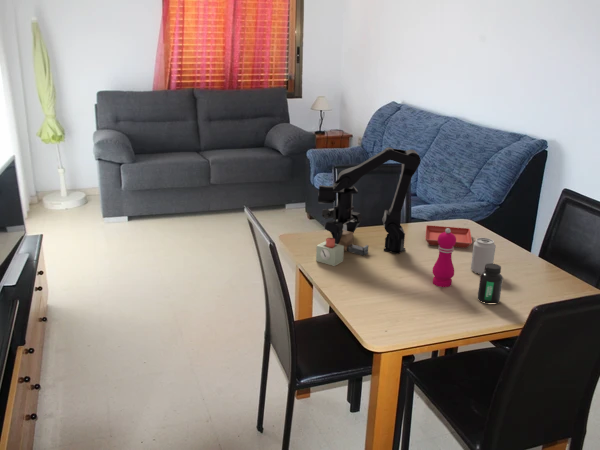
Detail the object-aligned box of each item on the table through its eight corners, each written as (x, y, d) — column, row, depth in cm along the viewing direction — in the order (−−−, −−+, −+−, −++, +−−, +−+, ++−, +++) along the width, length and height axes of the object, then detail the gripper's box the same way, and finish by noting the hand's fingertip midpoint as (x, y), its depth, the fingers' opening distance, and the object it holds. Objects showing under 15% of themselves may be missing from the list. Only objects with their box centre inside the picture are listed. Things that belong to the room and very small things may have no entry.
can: (493, 269, 216) (497, 238, 212) (490, 277, 209) (494, 245, 205) (472, 265, 219) (476, 235, 215) (468, 273, 212) (472, 241, 208)
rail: (367, 253, 228) (368, 245, 227) (364, 255, 225) (364, 247, 224) (334, 244, 236) (335, 237, 235) (330, 246, 233) (330, 239, 232)
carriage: (352, 247, 232) (353, 232, 230) (345, 251, 228) (346, 235, 226) (339, 244, 236) (340, 229, 233) (332, 247, 232) (333, 232, 230)
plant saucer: (424, 246, 237) (425, 238, 236) (425, 231, 254) (426, 224, 253) (471, 251, 234) (472, 243, 233) (469, 235, 250) (470, 228, 249)
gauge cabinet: (343, 261, 220) (343, 245, 218) (333, 266, 215) (334, 250, 213) (324, 255, 224) (325, 241, 222) (315, 261, 219) (315, 245, 217)
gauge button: (336, 249, 218) (336, 239, 217) (331, 251, 216) (331, 241, 215) (328, 247, 220) (329, 237, 219) (324, 249, 218) (324, 239, 216)
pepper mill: (440, 289, 198) (446, 233, 192) (426, 281, 204) (432, 226, 198) (457, 285, 202) (464, 230, 195) (443, 277, 208) (449, 223, 201)
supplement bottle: (490, 307, 187) (495, 272, 183) (472, 299, 192) (477, 264, 188) (503, 301, 191) (509, 267, 187) (486, 294, 196) (490, 260, 192)
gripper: (339, 194, 238) (337, 231, 243) (313, 205, 223) (312, 244, 228) (363, 199, 232) (361, 237, 237) (338, 211, 217) (336, 251, 222)
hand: (342, 242), depth 231 cm, fingers open, 9 cm apart
